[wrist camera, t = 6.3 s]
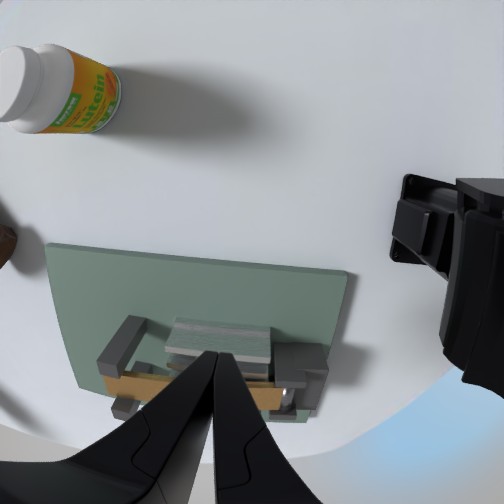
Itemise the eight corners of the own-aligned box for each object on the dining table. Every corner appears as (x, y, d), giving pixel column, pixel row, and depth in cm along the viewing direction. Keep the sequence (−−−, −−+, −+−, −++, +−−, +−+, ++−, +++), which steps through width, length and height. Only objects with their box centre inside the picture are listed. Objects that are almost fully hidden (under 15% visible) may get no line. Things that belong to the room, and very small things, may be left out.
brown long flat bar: (295, 377, 19) (297, 387, 18) (288, 403, 20) (290, 413, 19) (104, 362, 18) (100, 371, 17) (112, 389, 19) (108, 398, 18)
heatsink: (270, 326, 22) (271, 355, 18) (260, 391, 24) (260, 420, 21) (176, 316, 22) (164, 342, 18) (180, 382, 24) (172, 409, 21)
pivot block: (321, 343, 22) (331, 381, 18) (310, 383, 23) (317, 421, 19) (274, 340, 22) (276, 379, 18) (267, 381, 23) (268, 420, 19)
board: (344, 270, 21) (348, 276, 20) (305, 415, 26) (306, 422, 25) (50, 242, 21) (43, 246, 20) (82, 382, 26) (79, 387, 25)
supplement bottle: (108, 141, 18) (14, 145, 9) (57, 126, 18) (-36, 128, 9) (134, 71, 17) (52, 31, 7) (79, 62, 16) (-6, 34, 7)
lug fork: (145, 317, 22) (116, 365, 16) (152, 373, 24) (132, 422, 18) (128, 314, 22) (96, 360, 16) (137, 370, 24) (114, 418, 18)
